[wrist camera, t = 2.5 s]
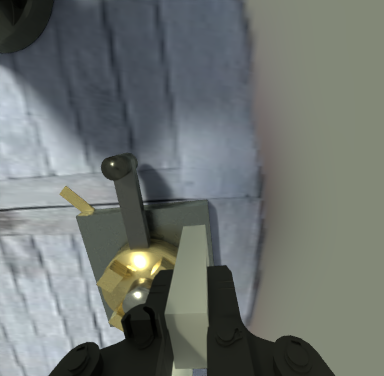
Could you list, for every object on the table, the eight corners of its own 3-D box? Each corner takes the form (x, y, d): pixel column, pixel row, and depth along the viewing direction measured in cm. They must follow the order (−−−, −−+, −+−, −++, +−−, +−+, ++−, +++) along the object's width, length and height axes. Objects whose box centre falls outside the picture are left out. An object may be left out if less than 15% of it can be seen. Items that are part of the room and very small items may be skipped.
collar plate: (58, 186, 27) (47, 191, 25) (204, 171, 25) (204, 175, 23) (100, 316, 33) (94, 327, 32) (218, 311, 32) (219, 322, 30)
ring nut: (79, 158, 23) (43, 165, 18) (175, 146, 22) (167, 151, 17) (121, 308, 30) (104, 346, 24) (197, 305, 29) (196, 343, 24)
